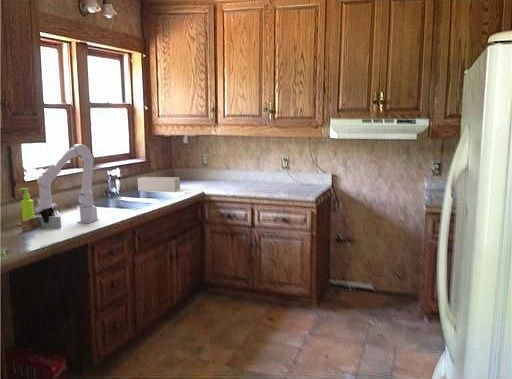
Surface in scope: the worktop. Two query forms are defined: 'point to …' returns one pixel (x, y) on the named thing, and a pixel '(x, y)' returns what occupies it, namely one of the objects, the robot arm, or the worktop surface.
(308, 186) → the worktop surface
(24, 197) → the soap dispenser
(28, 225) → the walnut board
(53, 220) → the grey block
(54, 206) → the robot arm
